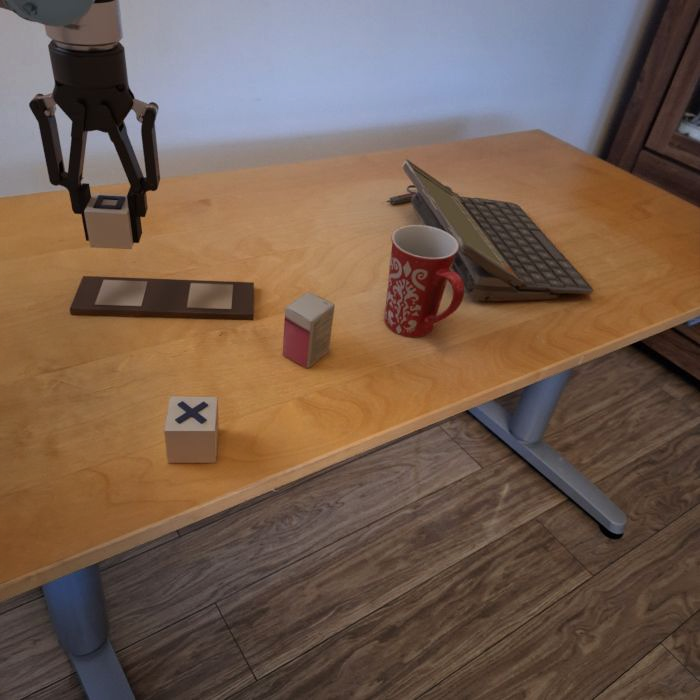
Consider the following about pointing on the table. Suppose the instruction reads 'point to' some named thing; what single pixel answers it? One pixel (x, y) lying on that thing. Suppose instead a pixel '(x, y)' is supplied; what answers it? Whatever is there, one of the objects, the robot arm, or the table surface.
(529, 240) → the laptop
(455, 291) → the mug
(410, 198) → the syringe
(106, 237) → the tile
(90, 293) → the word board
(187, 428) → the tile
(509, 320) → the table surface
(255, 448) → the table surface
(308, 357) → the small box
